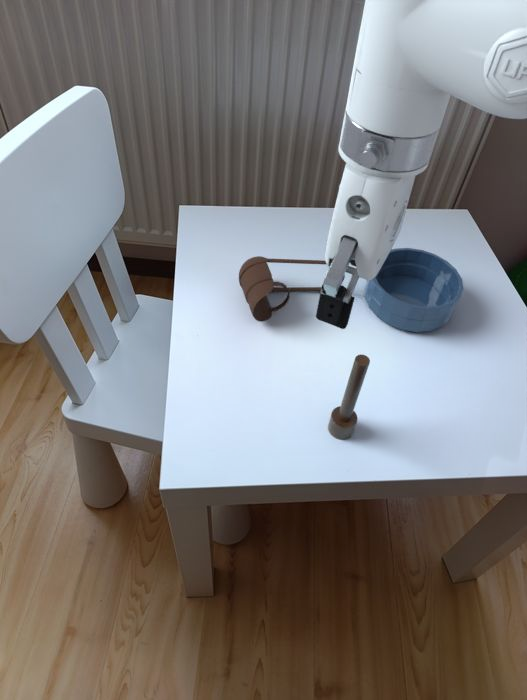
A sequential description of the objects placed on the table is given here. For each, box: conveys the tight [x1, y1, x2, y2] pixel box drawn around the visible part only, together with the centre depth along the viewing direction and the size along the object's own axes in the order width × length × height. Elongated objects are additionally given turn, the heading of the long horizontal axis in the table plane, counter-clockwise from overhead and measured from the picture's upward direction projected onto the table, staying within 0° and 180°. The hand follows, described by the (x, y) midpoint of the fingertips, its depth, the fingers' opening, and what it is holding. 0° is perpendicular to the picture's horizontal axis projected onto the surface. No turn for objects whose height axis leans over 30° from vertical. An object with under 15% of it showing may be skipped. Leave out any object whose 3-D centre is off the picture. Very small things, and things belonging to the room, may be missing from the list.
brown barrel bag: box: [238, 256, 346, 322], centre depth 90 cm, size 18×12×7 cm, turn 104°
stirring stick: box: [327, 354, 371, 440], centre depth 70 cm, size 4×4×15 cm
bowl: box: [364, 247, 464, 333], centre depth 91 cm, size 15×15×6 cm
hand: (348, 293), depth 56 cm, fingers open, 9 cm apart
